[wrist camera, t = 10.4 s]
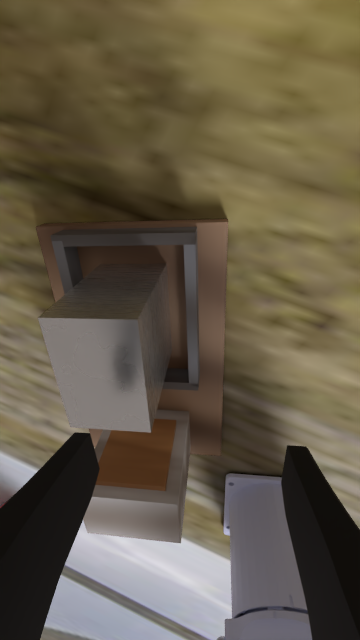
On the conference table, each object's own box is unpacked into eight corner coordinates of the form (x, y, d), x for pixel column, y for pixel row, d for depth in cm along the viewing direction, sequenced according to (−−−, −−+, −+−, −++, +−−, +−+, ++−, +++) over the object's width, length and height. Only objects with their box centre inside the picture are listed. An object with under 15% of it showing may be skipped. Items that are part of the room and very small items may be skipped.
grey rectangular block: (166, 263, 17) (137, 319, 11) (172, 354, 20) (151, 438, 14) (100, 263, 18) (37, 317, 12) (115, 352, 21) (72, 432, 15)
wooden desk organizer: (220, 445, 25) (221, 554, 18) (97, 437, 27) (54, 535, 20) (227, 218, 17) (233, 260, 10) (44, 223, 18) (-67, 263, 11)
